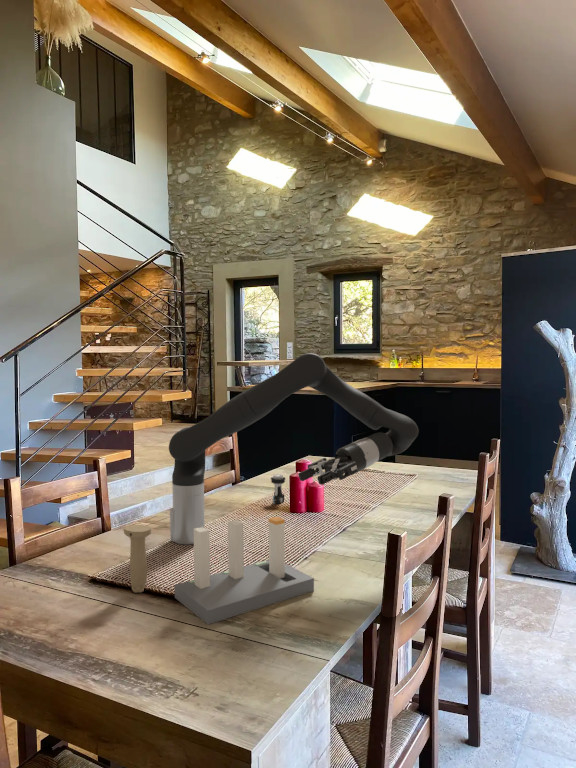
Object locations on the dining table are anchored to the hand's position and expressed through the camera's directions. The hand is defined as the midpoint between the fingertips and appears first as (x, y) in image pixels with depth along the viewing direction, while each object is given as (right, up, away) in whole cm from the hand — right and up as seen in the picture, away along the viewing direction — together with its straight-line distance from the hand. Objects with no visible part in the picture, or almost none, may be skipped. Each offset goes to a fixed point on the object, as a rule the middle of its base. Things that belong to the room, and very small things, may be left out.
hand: (309, 479), depth 146 cm
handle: (-40, -25, -8) cm, 48 cm away
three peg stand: (-15, -25, -10) cm, 31 cm away
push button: (-9, -20, +68) cm, 71 cm away
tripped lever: (-8, -23, -5) cm, 25 cm away
